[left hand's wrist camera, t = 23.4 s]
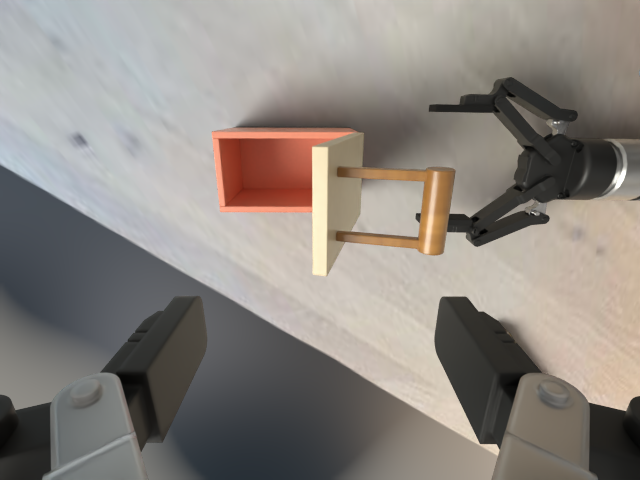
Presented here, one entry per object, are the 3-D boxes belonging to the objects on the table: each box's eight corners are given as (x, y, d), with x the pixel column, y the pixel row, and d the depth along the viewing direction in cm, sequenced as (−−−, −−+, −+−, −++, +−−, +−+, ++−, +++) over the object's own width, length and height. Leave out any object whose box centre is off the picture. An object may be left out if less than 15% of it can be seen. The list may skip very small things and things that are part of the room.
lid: (312, 275, 25) (444, 291, 23) (311, 146, 21) (465, 150, 19) (350, 213, 40) (432, 219, 38) (353, 132, 36) (443, 133, 34)
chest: (239, 192, 50) (220, 212, 40) (234, 127, 47) (211, 131, 37) (348, 192, 50) (355, 212, 40) (350, 127, 47) (358, 131, 37)
